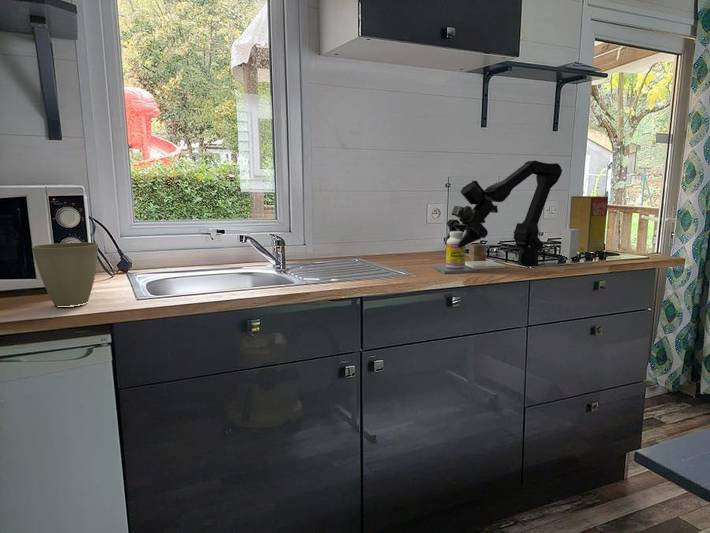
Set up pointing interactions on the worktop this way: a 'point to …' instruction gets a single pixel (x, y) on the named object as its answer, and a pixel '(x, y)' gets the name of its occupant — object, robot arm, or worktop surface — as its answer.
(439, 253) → the worktop surface
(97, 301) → the worktop surface
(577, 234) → the skincare box
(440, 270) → the slate tile
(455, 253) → the supplement bottle
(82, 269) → the plant pot
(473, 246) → the walnut block
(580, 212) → the food packaging
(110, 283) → the worktop surface
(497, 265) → the off-white tile
